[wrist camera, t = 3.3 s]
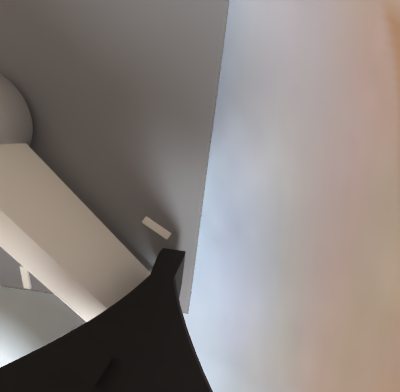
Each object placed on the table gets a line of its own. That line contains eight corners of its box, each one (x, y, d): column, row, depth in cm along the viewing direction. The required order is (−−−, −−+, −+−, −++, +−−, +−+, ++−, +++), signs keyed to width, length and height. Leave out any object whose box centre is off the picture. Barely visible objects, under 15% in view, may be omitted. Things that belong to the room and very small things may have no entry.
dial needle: (-72, 108, 8) (-283, 86, 5) (-25, 42, 8) (-242, -48, 4) (125, 299, 11) (83, 377, 7) (178, 266, 10) (159, 336, 6)
